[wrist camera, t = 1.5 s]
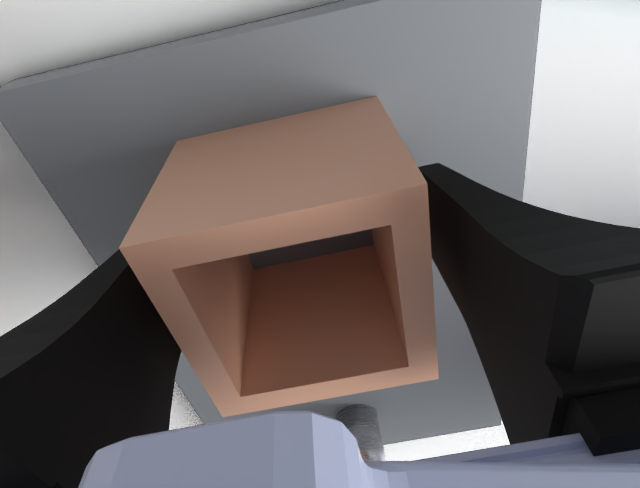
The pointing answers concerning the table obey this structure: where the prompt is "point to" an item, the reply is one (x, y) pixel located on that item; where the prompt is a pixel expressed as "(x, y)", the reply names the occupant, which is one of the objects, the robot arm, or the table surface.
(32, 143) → the pin plate
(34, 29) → the table surface
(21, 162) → the table surface
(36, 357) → the robot arm
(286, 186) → the sleeve
